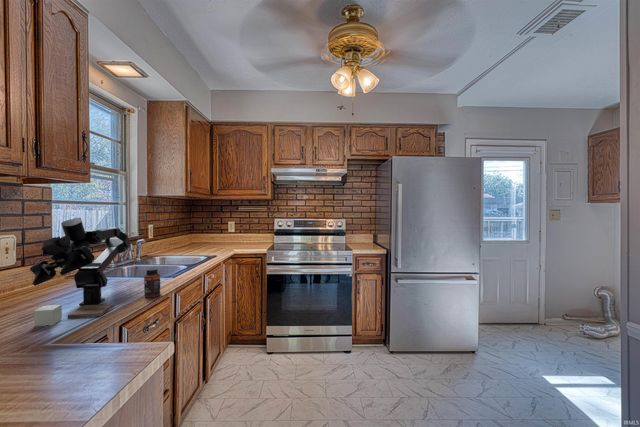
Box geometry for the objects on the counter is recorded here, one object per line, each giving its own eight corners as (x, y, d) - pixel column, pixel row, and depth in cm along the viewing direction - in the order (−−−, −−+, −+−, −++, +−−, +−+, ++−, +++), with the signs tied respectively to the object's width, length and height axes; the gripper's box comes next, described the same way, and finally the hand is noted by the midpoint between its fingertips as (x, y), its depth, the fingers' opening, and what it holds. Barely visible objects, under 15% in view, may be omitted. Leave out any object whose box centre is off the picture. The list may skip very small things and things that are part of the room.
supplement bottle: (163, 293, 136) (162, 267, 135) (156, 298, 130) (156, 270, 129) (148, 293, 136) (148, 267, 135) (141, 298, 130) (141, 270, 129)
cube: (44, 320, 105) (44, 305, 105) (61, 319, 106) (61, 304, 106) (34, 326, 100) (33, 310, 100) (52, 325, 101) (52, 309, 101)
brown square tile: (83, 308, 117) (83, 305, 117) (113, 306, 119) (113, 303, 119) (67, 318, 107) (67, 314, 107) (101, 316, 109) (101, 313, 109)
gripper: (33, 242, 109) (-1, 270, 95) (83, 223, 108) (56, 248, 94) (57, 267, 114) (27, 296, 100) (104, 248, 113) (81, 276, 100)
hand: (47, 279), depth 99 cm, fingers open, 9 cm apart
